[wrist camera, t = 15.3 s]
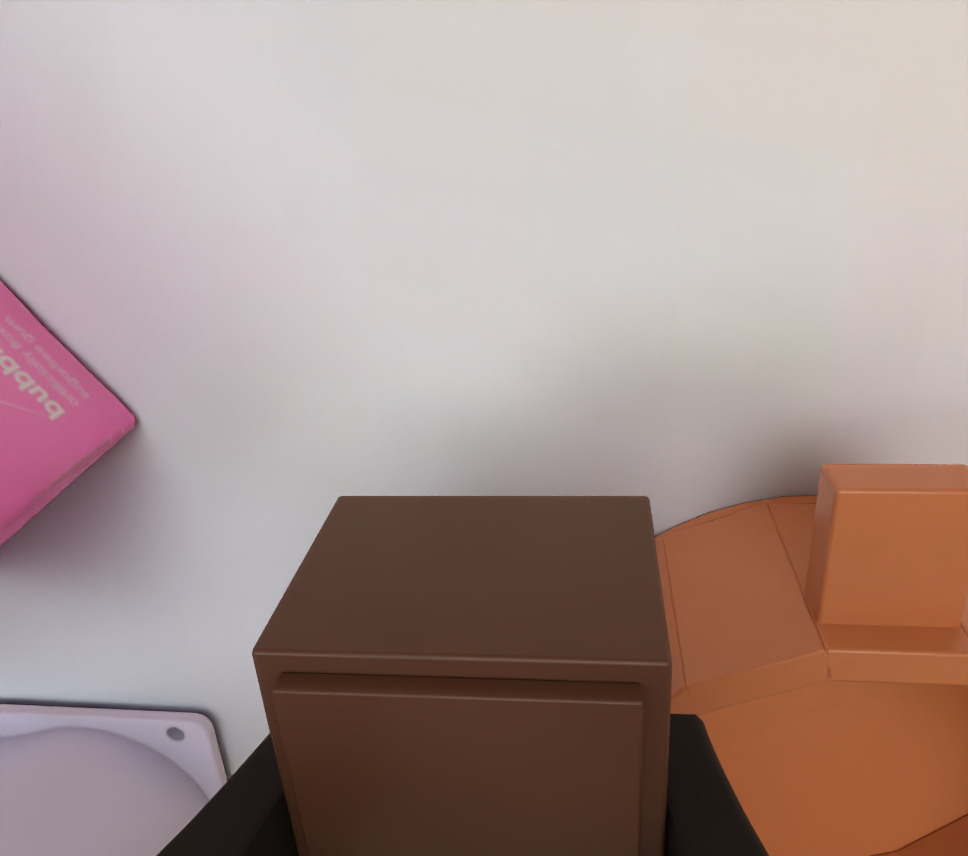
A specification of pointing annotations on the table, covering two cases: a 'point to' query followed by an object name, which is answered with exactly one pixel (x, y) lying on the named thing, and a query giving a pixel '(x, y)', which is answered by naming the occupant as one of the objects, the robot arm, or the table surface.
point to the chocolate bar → (473, 679)
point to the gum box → (46, 416)
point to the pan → (832, 658)
